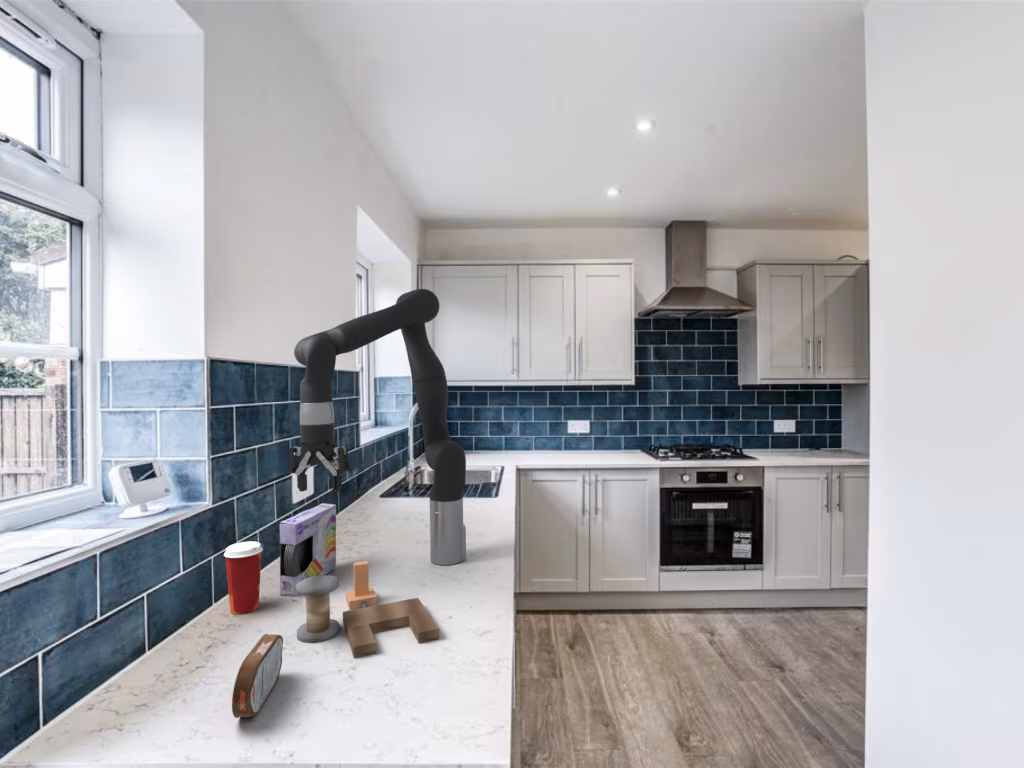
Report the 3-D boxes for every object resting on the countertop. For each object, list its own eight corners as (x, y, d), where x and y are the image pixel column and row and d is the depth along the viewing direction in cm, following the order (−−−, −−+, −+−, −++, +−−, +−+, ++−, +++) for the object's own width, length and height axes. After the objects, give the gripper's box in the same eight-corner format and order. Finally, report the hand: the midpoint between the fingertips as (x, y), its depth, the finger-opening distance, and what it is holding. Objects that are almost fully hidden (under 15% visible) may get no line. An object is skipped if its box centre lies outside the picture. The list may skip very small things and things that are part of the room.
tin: (267, 673, 90) (267, 624, 90) (286, 671, 90) (286, 623, 90) (229, 731, 75) (228, 673, 75) (252, 729, 75) (251, 671, 75)
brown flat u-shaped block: (418, 606, 115) (417, 597, 115) (439, 638, 101) (438, 628, 101) (342, 621, 109) (342, 611, 109) (353, 658, 94) (353, 647, 94)
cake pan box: (294, 599, 120) (293, 522, 120) (275, 597, 121) (274, 521, 121) (338, 569, 139) (337, 503, 139) (321, 568, 140) (320, 502, 140)
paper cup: (271, 604, 118) (270, 542, 118) (243, 619, 110) (242, 553, 110) (244, 599, 120) (243, 539, 120) (215, 613, 113) (214, 549, 113)
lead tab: (372, 595, 122) (372, 557, 122) (380, 612, 113) (380, 571, 113) (345, 600, 120) (345, 561, 119) (352, 618, 110) (351, 575, 110)
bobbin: (337, 620, 109) (336, 572, 109) (341, 637, 102) (341, 586, 102) (296, 628, 106) (295, 579, 106) (297, 646, 99) (296, 593, 99)
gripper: (353, 420, 124) (355, 488, 124) (299, 420, 127) (301, 487, 127) (336, 423, 116) (338, 495, 117) (279, 423, 119) (282, 494, 119)
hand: (319, 491), depth 122 cm, fingers open, 8 cm apart
